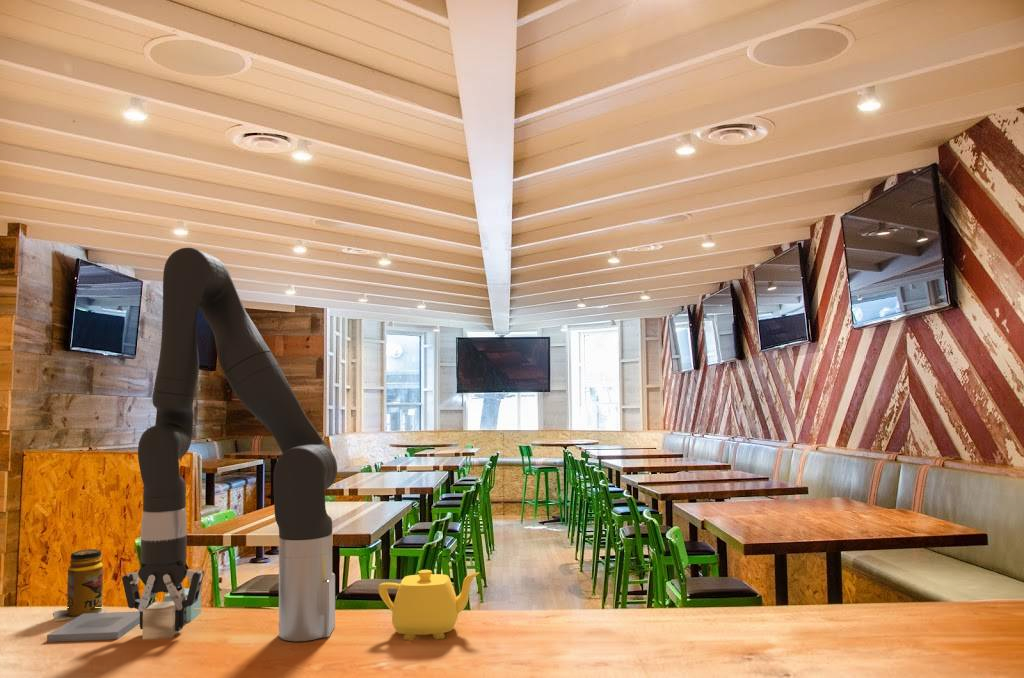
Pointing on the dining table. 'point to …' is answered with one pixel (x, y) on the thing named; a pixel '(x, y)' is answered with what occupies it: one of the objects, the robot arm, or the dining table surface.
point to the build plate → (96, 627)
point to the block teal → (191, 611)
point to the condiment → (83, 585)
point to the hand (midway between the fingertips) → (162, 630)
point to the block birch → (159, 620)
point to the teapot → (425, 604)
